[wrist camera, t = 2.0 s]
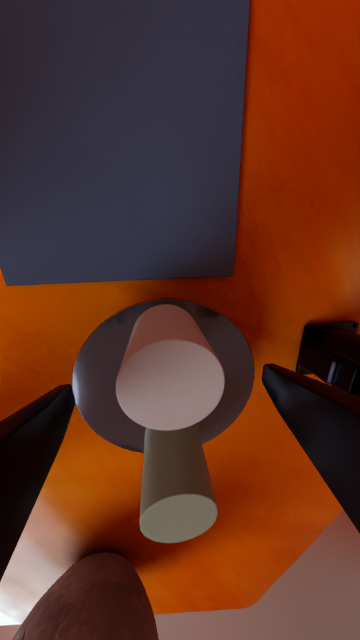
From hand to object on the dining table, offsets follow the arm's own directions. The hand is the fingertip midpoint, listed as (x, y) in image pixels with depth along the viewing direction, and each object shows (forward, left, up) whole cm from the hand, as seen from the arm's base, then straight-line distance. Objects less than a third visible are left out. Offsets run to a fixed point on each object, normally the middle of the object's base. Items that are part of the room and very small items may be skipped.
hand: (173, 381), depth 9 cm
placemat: (+3, -13, -10) cm, 17 cm away
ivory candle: (0, 0, -5) cm, 5 cm away
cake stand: (0, +5, -10) cm, 11 cm away
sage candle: (0, +10, -5) cm, 11 cm away
